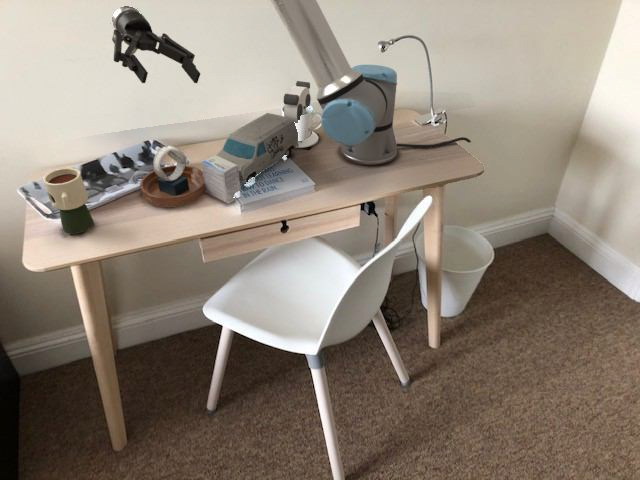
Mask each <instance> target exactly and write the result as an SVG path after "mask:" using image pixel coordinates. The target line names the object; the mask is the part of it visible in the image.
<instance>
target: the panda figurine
mask: <svg viewBox="0 0 640 480" xmlns="http://www.w3.org/2000/svg"><path fill="white" fill-rule="evenodd" d="M310 88H311V83H310V82H308V81H300V80H297V81H296V83H295V85H292V86H291V87H290V88H289V90H288V91H287V93H284V95H283V105H284V106H283V117H287V118H290V119H293V120H294V122H295V123H298V120H300V116H301V115H302V114H304V113H305V112H306V108H307V107H308V106H310V107H311V101H312V98H311V97H312V96H311V94H310ZM318 142H319V136H318V134H317V133H316V132H314V131H312V134H311V136H310V137H309V138H307V139H305V140H302V141H298V144H299V145H298V147H297V146H296V148H295V149H305V148H309V147H312V146H314V145H316V144H317V143H318Z"/></svg>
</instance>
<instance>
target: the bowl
mask: <svg viewBox="0 0 640 480" xmlns="http://www.w3.org/2000/svg"><path fill="white" fill-rule="evenodd" d="M177 165H178V164H174V165H166V166H162V167H161V169H162V171H163V172H164V173H165V174H167V173H169V172H175V169H176V166H177ZM179 167H180V166H179ZM182 171H183V170H182ZM181 176H184V177H186V178H187V179H188V185H189V190H187V191H186V192H184V193H182V194H181V195H178V196H172V195H169V194H167V193H165V192H162V191H160V190H159V185H158V181H157V179H158V178H160V177H159V176H158V175H157V174H156V173H155V171H154V170H151V171H150V172H148V173H147V174H145V175H144V176H143V177H142V179H141V180H140V183H139V188H140V192H141V196H142V199H143V200H144V201H145V202H147V203H148V204H150V205H152V206H157V207H163V208H173V207H181V206H185V205H189V204H190V203H191V204H192V203H194V202H195V201H197V200H199V199H200V198H201V197H203V196H204V195H205V193H207V192H206V187H205V181H204V174H203V170H201V169H200V168H198V167H195V166H191V165H187V164H186V165H185V168H184V171H183V173H182V174H181Z"/></svg>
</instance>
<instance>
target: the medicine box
mask: <svg viewBox="0 0 640 480" xmlns="http://www.w3.org/2000/svg"><path fill="white" fill-rule="evenodd" d="M201 169H202V172H203V174H204V181H205V187H206V192H205V193H207V195H208V194H209V195H210V196H212V197H214V198H217V199H218V200H220V201H222V202H224V203H225V204H228V205H229V204H231V203H233V202H235V201H237V199H236V197H235V198H233V197H234V194H235V193H236V192H238V191H240V190H241V183H240V181H239V173H238V166H237V165H236V164H234V163H232V162H229V161H227V160H225V159H223V158H221V157H219V156H217V154H214V155H212V156H210V157H208V158H206V159H204V160H202V161H201ZM241 191H242V190H241Z"/></svg>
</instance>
